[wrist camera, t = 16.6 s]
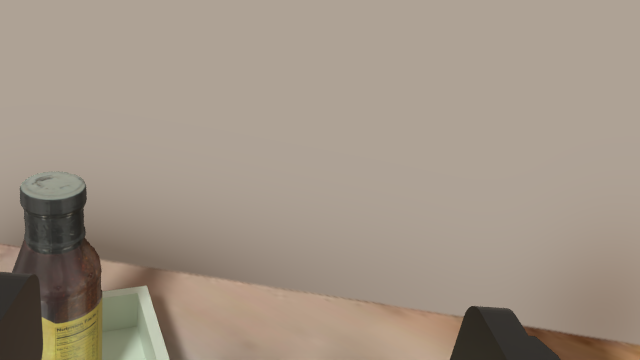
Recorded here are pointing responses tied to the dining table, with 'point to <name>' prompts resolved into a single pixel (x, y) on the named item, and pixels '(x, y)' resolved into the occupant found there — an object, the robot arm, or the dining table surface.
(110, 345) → the sage bin
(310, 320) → the dining table surface
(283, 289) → the dining table surface
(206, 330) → the dining table surface
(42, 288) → the sauce bottle
